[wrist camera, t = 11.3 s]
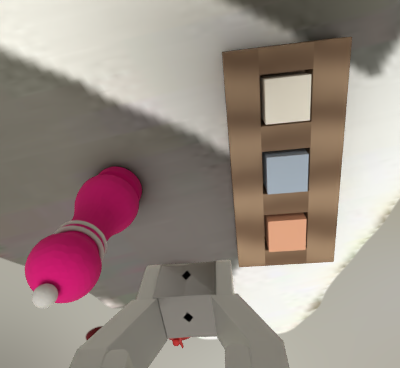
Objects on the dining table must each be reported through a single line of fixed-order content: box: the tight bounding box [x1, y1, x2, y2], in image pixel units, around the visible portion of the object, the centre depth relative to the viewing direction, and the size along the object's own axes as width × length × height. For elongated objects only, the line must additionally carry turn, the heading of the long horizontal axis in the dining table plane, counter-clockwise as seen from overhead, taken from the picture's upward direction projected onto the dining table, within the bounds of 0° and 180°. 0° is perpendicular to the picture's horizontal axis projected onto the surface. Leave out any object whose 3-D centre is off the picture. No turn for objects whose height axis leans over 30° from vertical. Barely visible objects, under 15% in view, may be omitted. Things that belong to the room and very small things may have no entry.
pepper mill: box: [25, 167, 142, 308], centre depth 31 cm, size 7×7×20 cm
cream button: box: [260, 72, 311, 125], centre depth 32 cm, size 4×4×4 cm
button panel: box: [222, 37, 352, 267], centre depth 36 cm, size 26×12×4 cm, turn 7°
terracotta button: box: [264, 212, 307, 252], centre depth 38 cm, size 4×4×4 cm
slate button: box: [262, 148, 309, 194], centre depth 35 cm, size 4×4×4 cm
